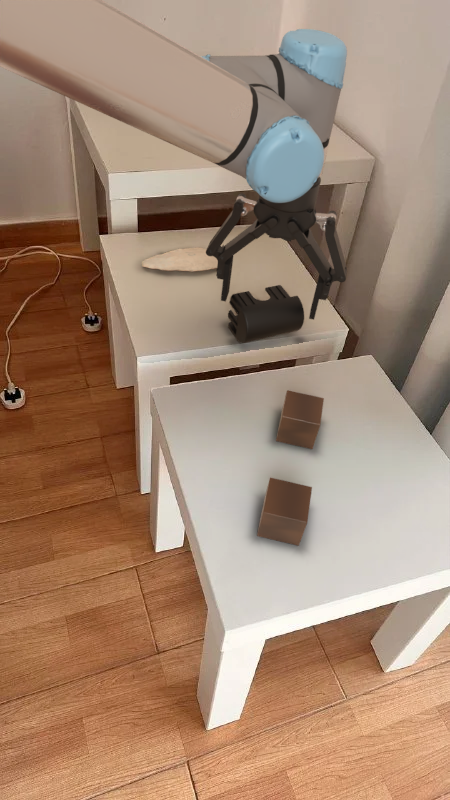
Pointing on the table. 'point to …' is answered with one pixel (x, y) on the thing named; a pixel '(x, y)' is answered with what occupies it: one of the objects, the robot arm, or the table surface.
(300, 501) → the walnut block near
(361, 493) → the table surface
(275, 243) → the table surface
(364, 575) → the table surface
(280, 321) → the end cap
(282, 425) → the walnut block middle
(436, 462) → the table surface
